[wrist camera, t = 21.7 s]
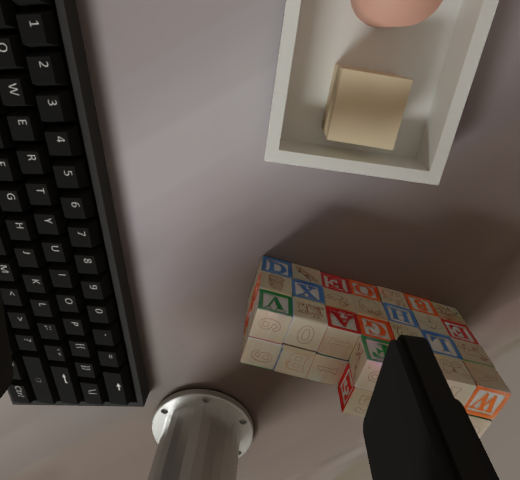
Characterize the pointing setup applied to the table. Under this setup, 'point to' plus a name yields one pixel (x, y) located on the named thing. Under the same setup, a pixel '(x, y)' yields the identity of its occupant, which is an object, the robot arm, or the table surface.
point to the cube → (365, 106)
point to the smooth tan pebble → (394, 11)
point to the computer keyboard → (59, 222)
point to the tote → (379, 59)
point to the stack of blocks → (360, 337)
